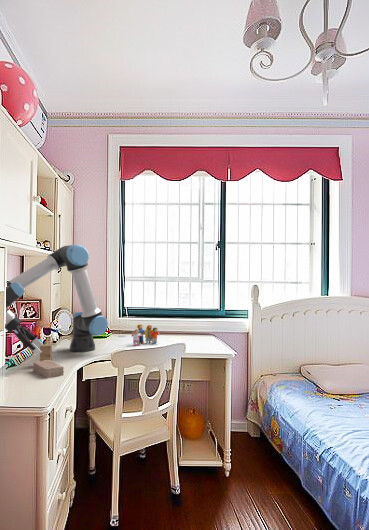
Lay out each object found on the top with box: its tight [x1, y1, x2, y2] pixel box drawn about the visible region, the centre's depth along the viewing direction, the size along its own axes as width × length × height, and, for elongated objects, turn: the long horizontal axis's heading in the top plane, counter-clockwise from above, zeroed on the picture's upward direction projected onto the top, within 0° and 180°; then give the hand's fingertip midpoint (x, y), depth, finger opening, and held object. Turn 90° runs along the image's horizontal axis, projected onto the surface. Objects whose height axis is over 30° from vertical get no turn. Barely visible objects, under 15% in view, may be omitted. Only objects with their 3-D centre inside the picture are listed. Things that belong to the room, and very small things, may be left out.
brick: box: [32, 359, 65, 379], centre depth 174 cm, size 17×8×5 cm, turn 43°
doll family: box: [131, 324, 161, 347], centre depth 250 cm, size 21×10×13 cm, turn 123°
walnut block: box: [39, 343, 53, 361], centre depth 188 cm, size 5×5×10 cm
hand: (41, 351), depth 187 cm, fingers open, 13 cm apart
